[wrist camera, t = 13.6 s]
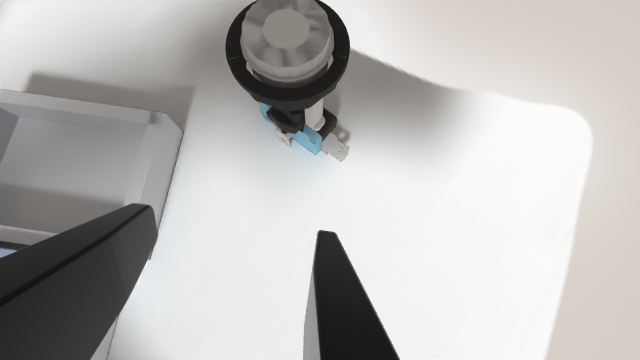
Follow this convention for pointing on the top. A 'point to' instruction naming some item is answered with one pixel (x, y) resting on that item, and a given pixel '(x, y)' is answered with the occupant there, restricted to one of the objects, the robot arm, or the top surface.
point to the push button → (291, 67)
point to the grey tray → (78, 166)
